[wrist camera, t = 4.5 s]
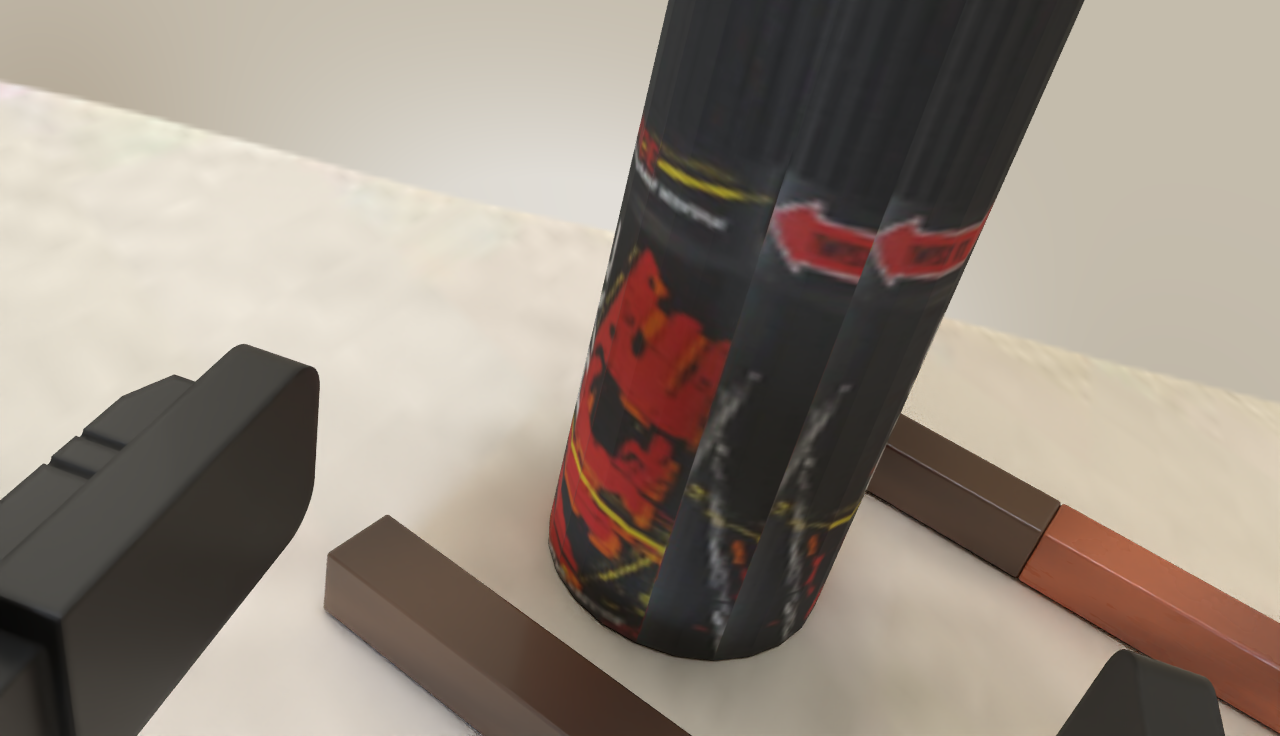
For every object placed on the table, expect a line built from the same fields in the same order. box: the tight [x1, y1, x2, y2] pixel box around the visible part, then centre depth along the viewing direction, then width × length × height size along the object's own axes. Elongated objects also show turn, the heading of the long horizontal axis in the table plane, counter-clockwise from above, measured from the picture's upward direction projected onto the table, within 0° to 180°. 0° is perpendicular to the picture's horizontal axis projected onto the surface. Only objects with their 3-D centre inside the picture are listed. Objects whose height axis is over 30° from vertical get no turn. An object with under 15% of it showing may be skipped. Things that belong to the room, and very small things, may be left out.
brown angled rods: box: [324, 413, 1280, 736], centre depth 21 cm, size 22×13×2 cm, turn 55°
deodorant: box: [548, 0, 1084, 660], centre depth 20 cm, size 6×6×15 cm
